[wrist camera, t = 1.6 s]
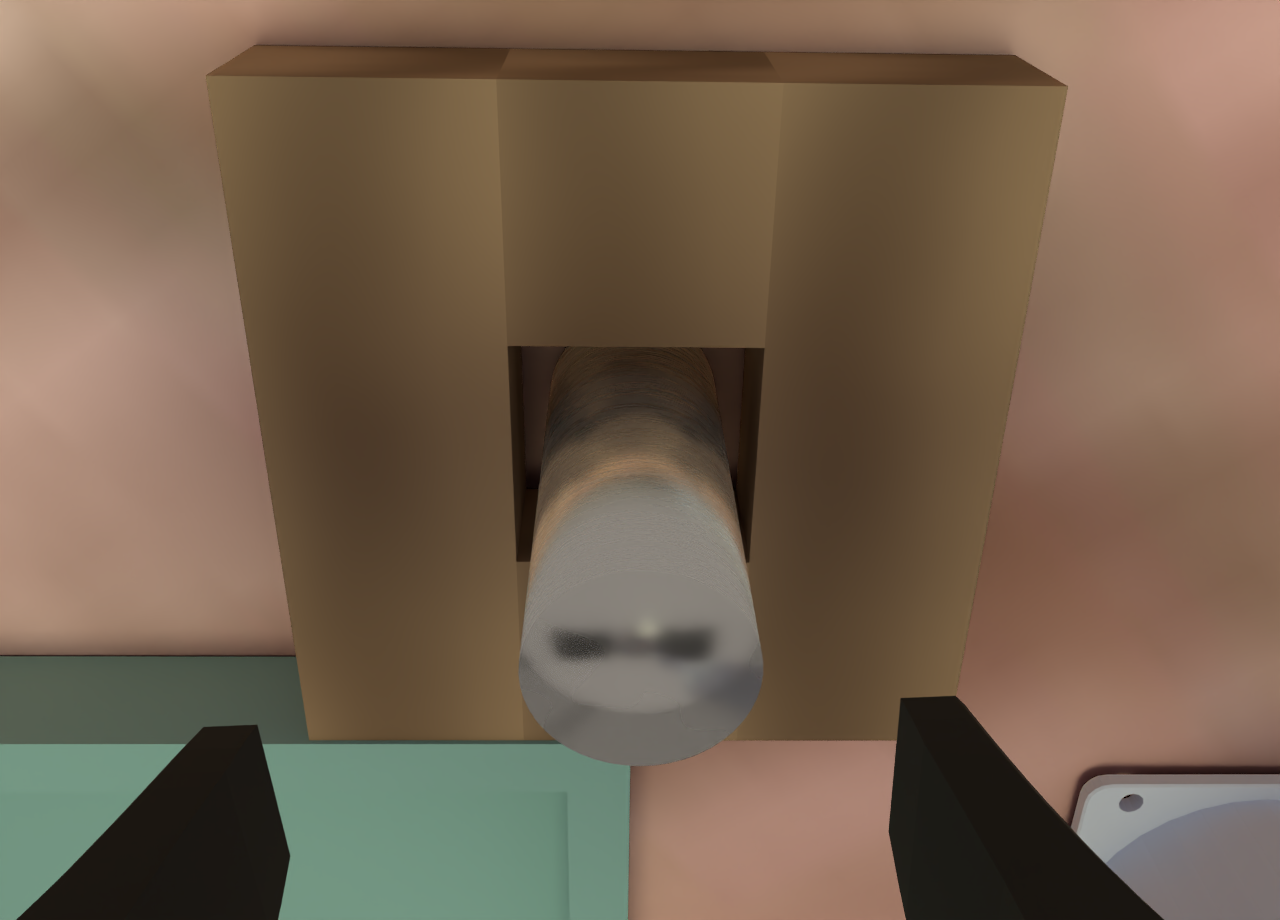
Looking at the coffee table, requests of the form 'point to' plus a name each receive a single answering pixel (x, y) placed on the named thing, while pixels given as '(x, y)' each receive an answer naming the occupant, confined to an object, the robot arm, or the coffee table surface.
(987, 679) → the coffee table surface
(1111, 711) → the coffee table surface
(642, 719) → the pin
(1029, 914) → the robot arm
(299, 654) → the pin block
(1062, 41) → the coffee table surface
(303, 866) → the tray
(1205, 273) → the coffee table surface
